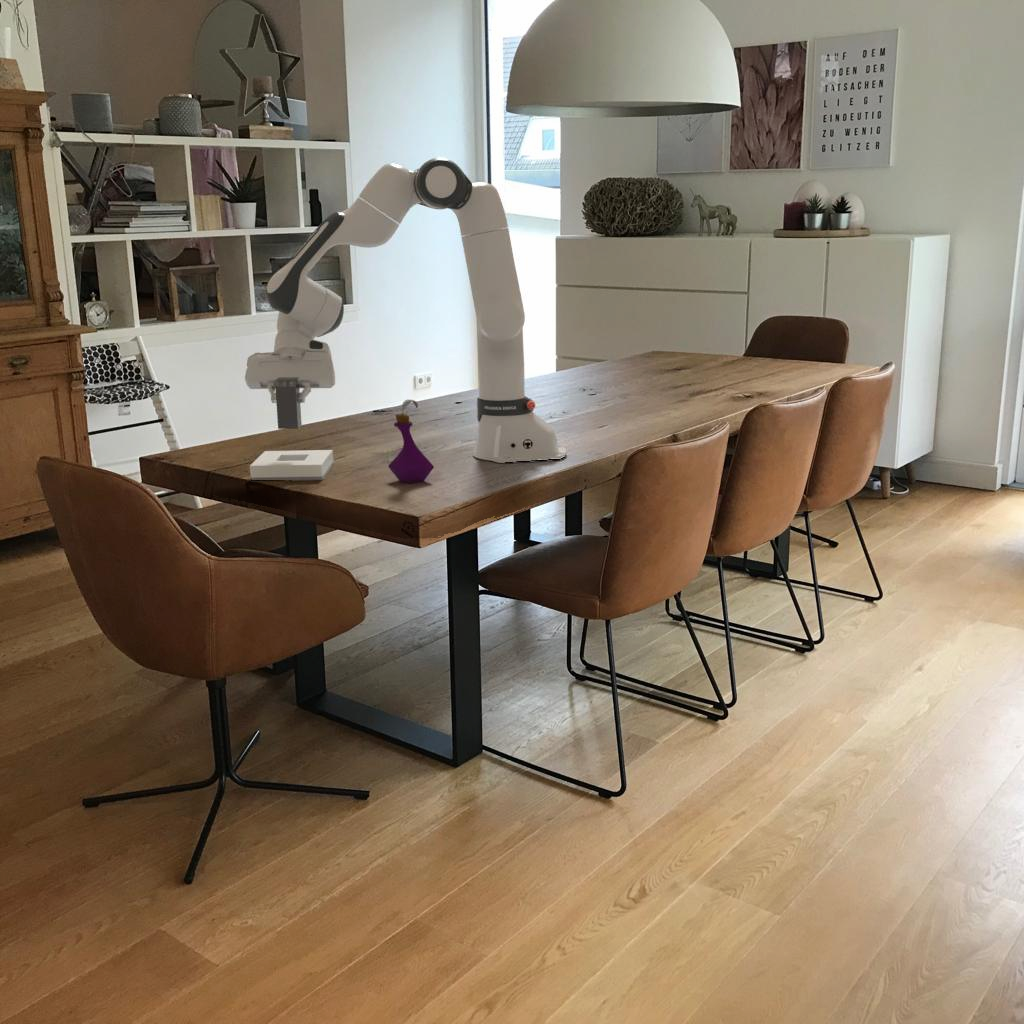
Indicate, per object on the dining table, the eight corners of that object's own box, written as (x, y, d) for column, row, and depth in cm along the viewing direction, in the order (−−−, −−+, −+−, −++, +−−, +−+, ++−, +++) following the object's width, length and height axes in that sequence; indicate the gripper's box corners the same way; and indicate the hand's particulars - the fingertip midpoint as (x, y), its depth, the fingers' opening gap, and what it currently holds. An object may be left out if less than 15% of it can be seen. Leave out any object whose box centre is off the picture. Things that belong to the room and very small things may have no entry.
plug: (301, 424, 261) (298, 377, 259) (298, 428, 257) (295, 380, 254) (282, 425, 261) (278, 377, 259) (278, 428, 257) (274, 380, 254)
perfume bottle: (405, 486, 247) (402, 404, 242) (388, 480, 253) (384, 399, 248) (434, 481, 251) (432, 400, 247) (417, 475, 257) (414, 396, 253)
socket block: (333, 464, 270) (332, 449, 269) (322, 480, 254) (321, 464, 253) (265, 465, 270) (264, 451, 269) (250, 481, 254) (249, 465, 253)
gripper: (245, 344, 261) (238, 393, 254) (334, 343, 261) (330, 392, 254) (251, 361, 267) (244, 410, 260) (338, 360, 267) (334, 408, 260)
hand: (287, 401), depth 257 cm, fingers closed on plug, 4 cm apart
